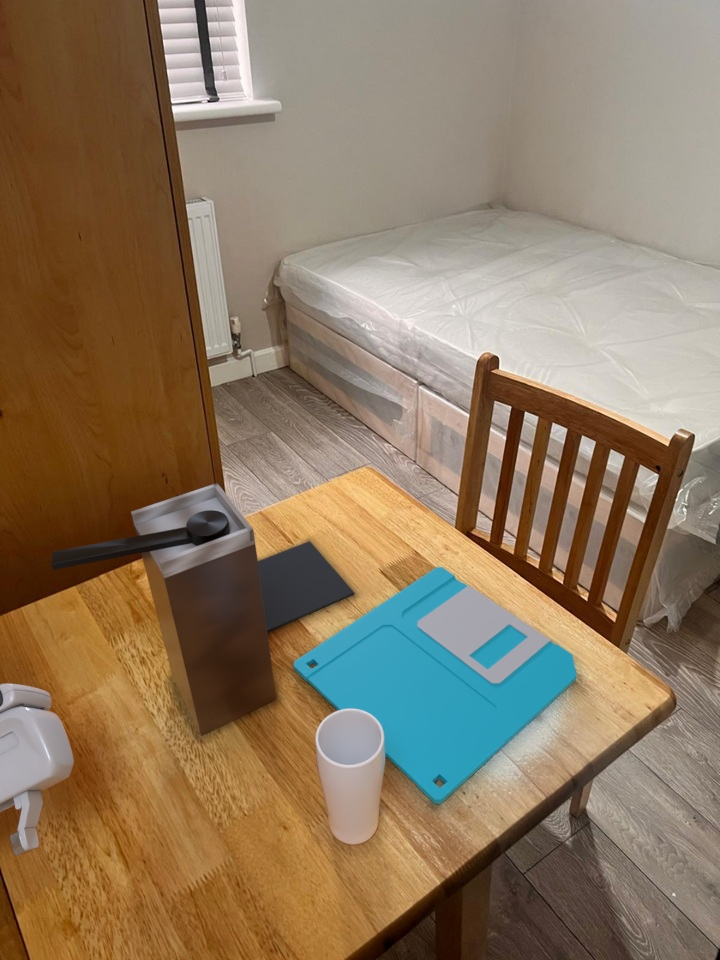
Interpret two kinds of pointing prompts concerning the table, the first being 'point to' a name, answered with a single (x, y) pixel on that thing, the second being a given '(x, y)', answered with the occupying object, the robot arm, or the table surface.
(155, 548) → the lever handle
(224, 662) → the stand
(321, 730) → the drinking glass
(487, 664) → the diskette
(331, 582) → the mat
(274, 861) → the table surface
